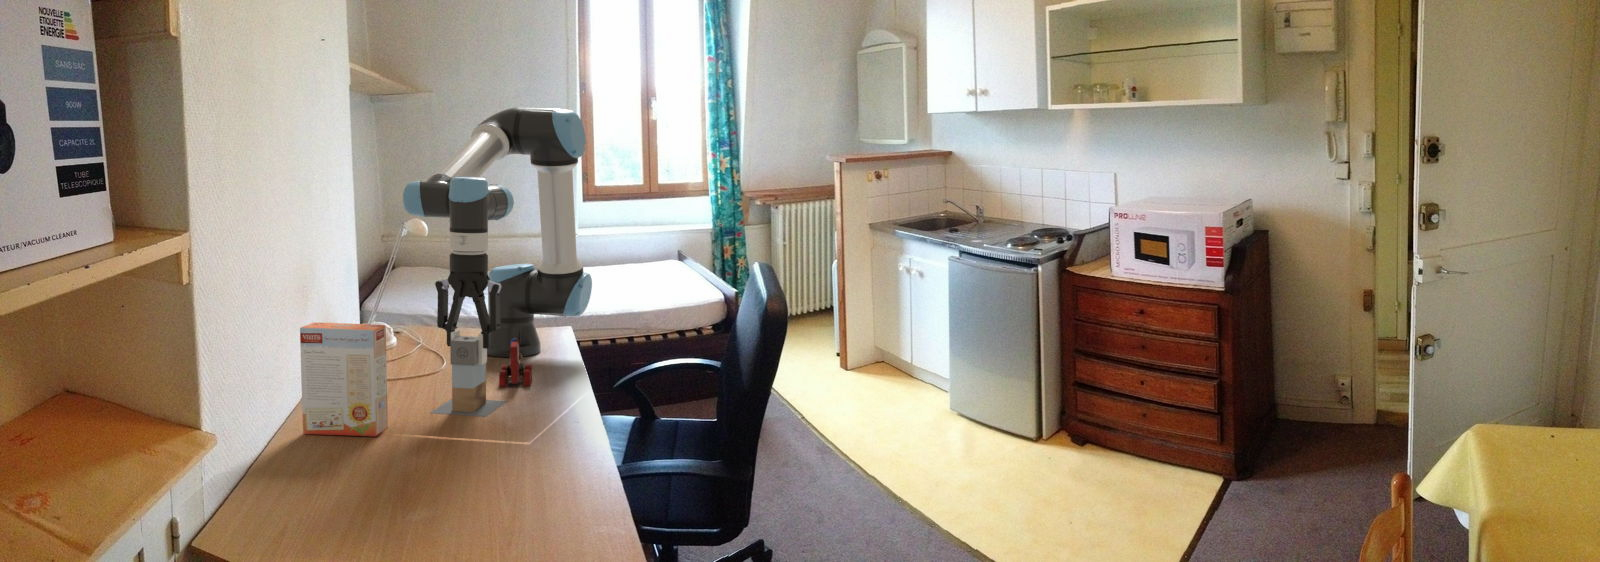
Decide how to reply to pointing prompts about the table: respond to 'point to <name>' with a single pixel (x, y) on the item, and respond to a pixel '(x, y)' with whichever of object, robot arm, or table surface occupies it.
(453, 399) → the tower base
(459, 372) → the tower mid
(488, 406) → the mat
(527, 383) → the toy fire truck
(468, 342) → the dice cube
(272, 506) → the table surface
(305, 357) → the cracker box
